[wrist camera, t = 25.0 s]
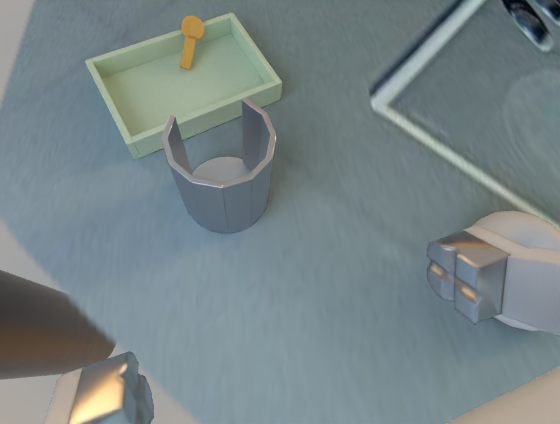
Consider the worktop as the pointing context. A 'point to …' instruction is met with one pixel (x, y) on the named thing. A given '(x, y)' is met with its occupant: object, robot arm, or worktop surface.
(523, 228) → the donut
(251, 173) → the steel cup
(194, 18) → the key
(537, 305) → the robot arm
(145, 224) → the worktop surface
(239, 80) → the tray
